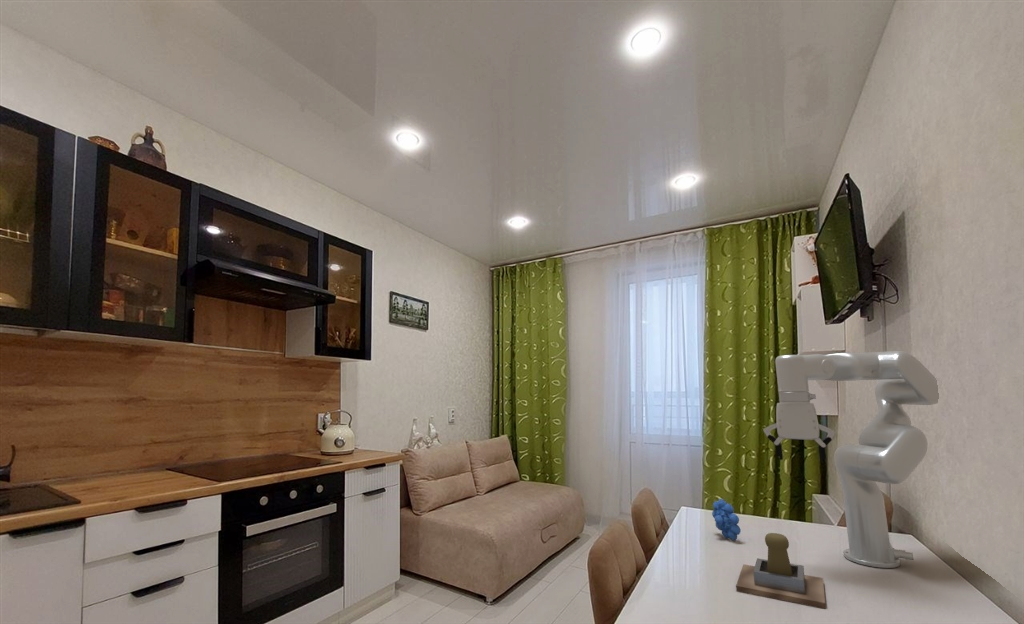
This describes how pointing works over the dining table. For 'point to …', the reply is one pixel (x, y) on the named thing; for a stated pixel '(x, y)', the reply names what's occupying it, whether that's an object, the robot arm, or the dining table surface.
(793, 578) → the collar
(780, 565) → the cork
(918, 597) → the dining table surface
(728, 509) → the grapes
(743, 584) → the collar board
